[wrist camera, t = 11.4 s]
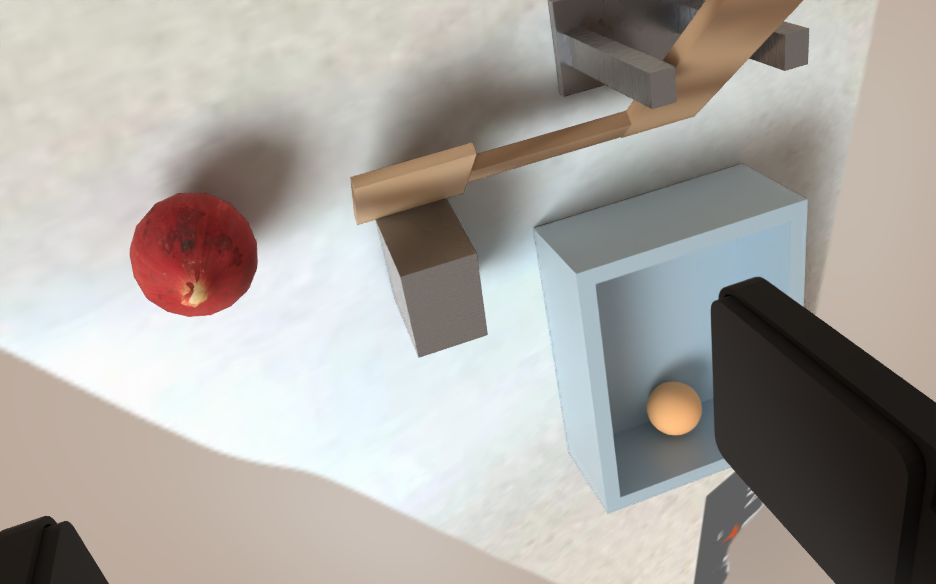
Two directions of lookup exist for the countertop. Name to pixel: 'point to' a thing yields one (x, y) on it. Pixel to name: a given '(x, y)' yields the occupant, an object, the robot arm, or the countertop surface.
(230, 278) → the onion
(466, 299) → the iron block
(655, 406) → the ball
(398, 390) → the countertop surface
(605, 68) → the fulcrum
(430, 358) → the countertop surface
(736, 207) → the dish
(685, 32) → the lever
